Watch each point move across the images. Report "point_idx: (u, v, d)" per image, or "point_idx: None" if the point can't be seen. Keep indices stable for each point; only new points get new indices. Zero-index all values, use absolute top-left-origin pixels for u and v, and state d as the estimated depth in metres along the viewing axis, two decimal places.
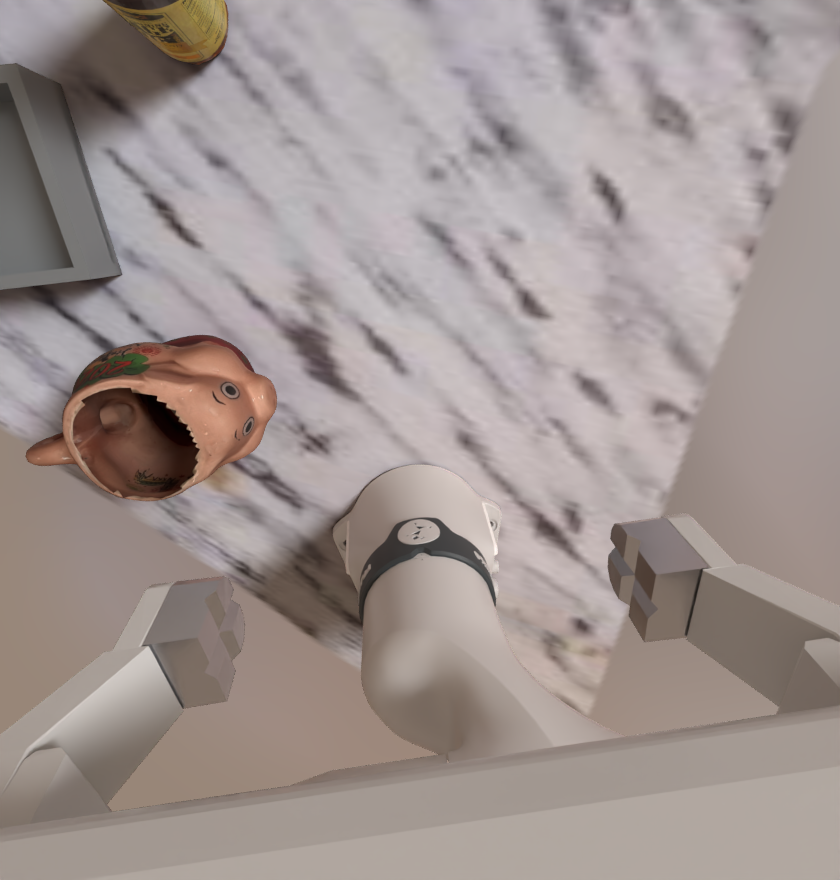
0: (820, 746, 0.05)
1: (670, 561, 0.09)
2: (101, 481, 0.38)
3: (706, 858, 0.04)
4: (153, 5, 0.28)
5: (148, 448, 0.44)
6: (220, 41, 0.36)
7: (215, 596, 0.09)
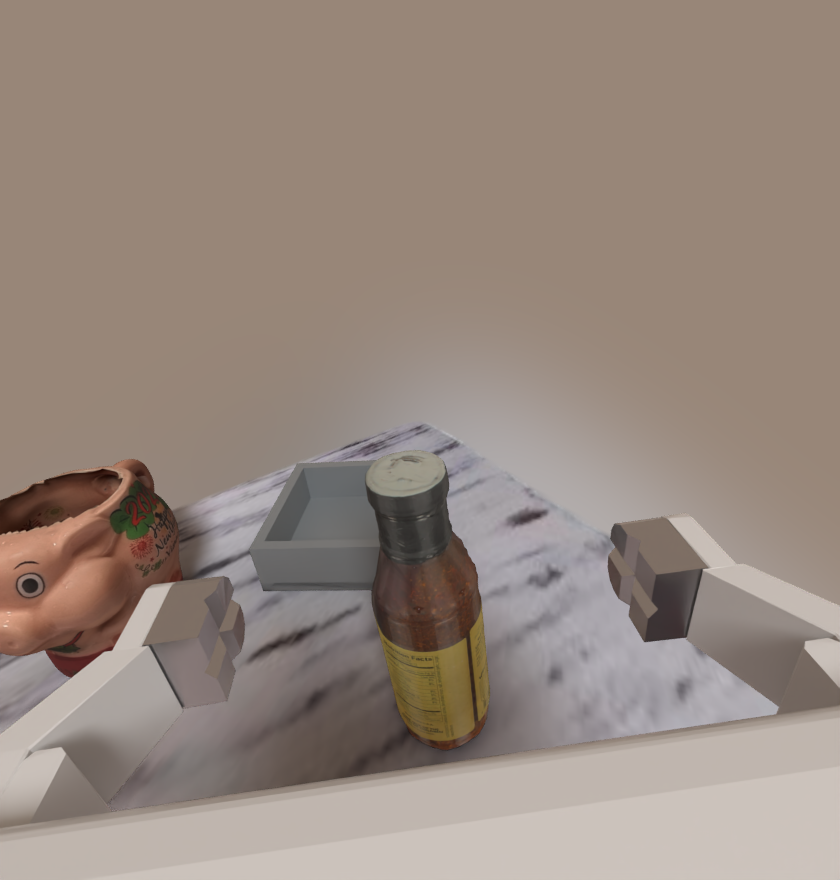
0: (820, 746, 0.05)
1: (670, 561, 0.09)
2: (69, 483, 0.42)
3: (706, 858, 0.04)
4: (372, 601, 0.28)
5: None
6: (408, 724, 0.31)
7: (215, 596, 0.09)
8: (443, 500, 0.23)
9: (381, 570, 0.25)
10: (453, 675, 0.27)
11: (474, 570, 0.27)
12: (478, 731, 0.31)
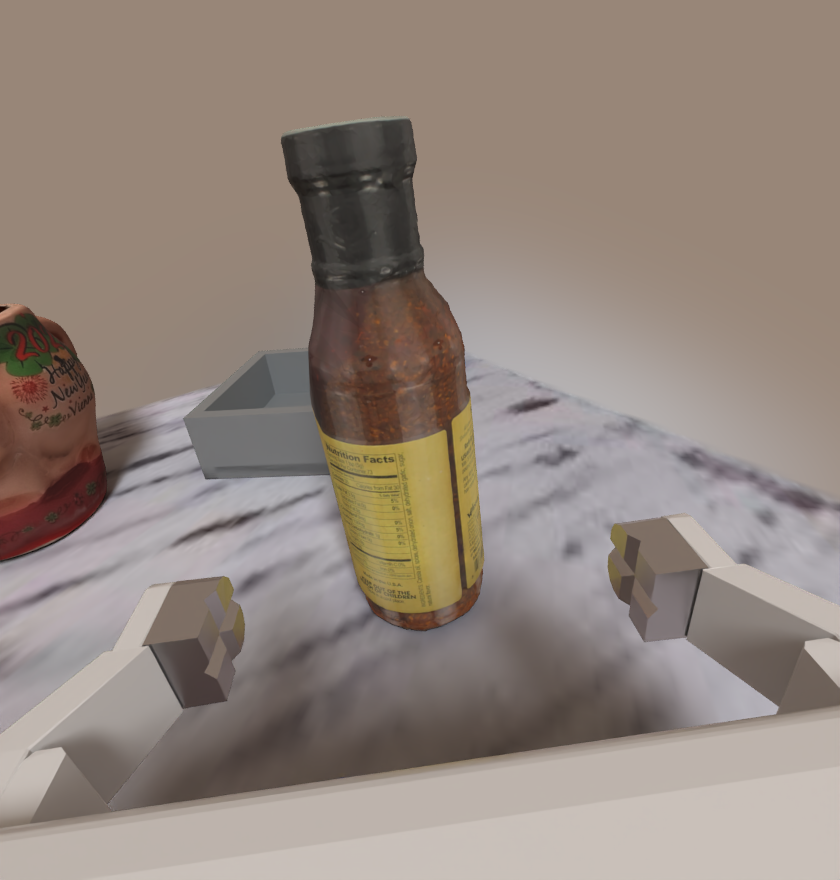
0: (820, 746, 0.05)
1: (670, 561, 0.09)
2: None
3: (706, 858, 0.04)
4: None
5: None
6: (369, 594, 0.22)
7: (215, 596, 0.09)
8: (405, 165, 0.15)
9: (315, 313, 0.17)
10: (428, 495, 0.18)
11: (459, 331, 0.18)
12: (467, 606, 0.22)
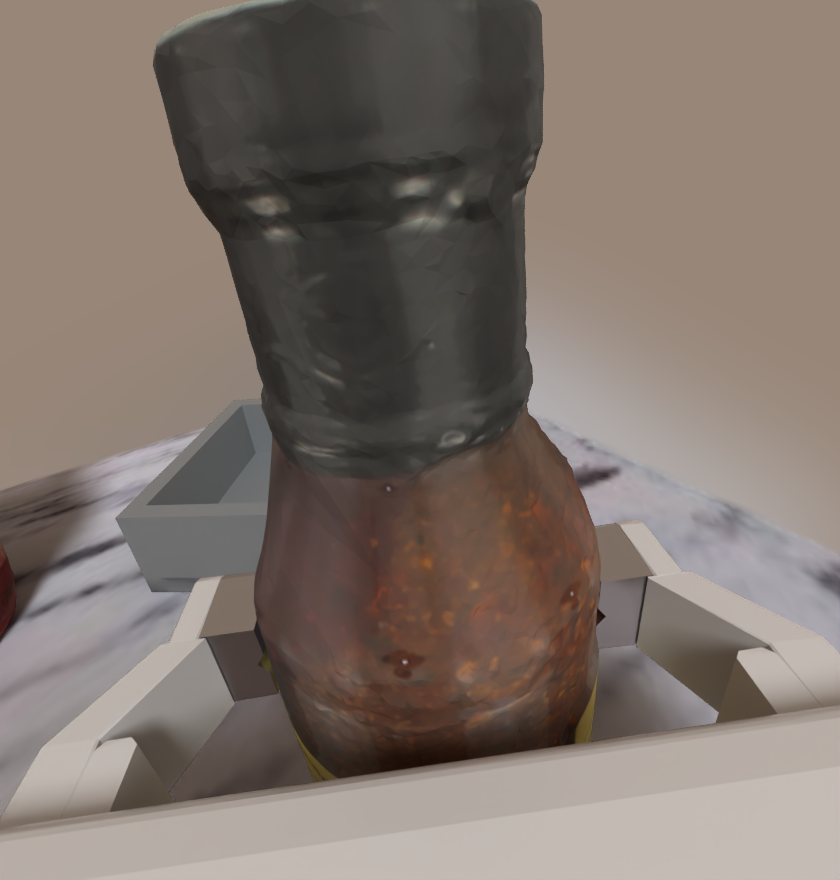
0: (820, 746, 0.05)
1: (617, 568, 0.09)
2: None
3: (706, 858, 0.04)
4: None
5: None
6: None
7: None
8: (527, 152, 0.05)
9: (269, 510, 0.07)
10: None
11: None
12: None
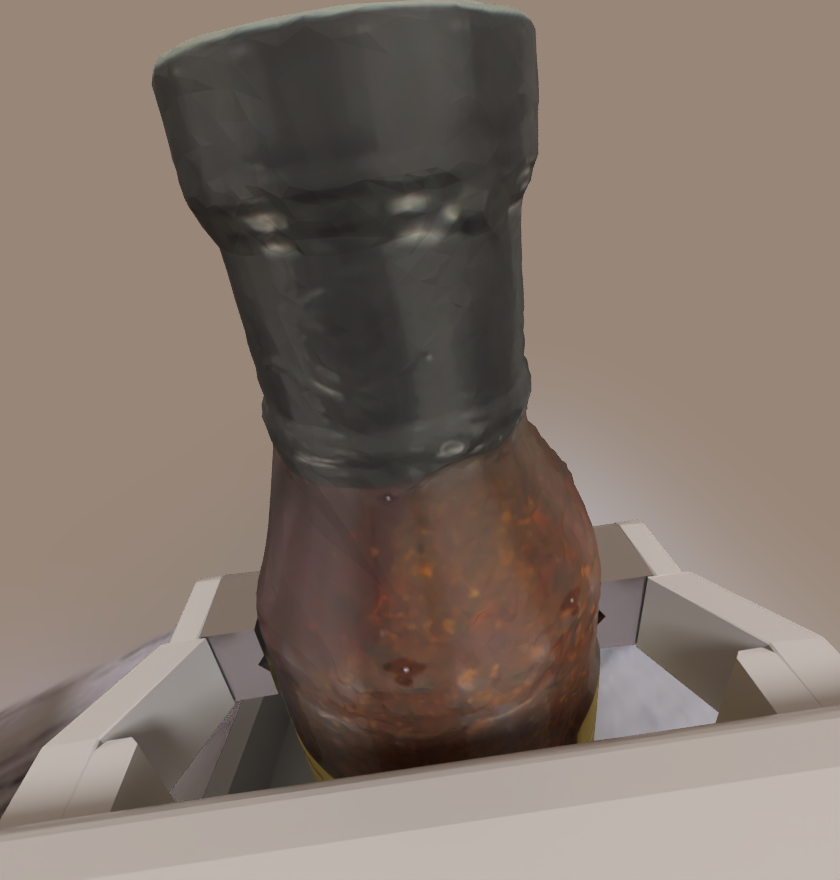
0: (820, 746, 0.05)
1: (617, 568, 0.09)
2: None
3: (706, 858, 0.04)
4: None
5: None
6: None
7: None
8: (522, 165, 0.05)
9: (271, 519, 0.07)
10: None
11: None
12: None
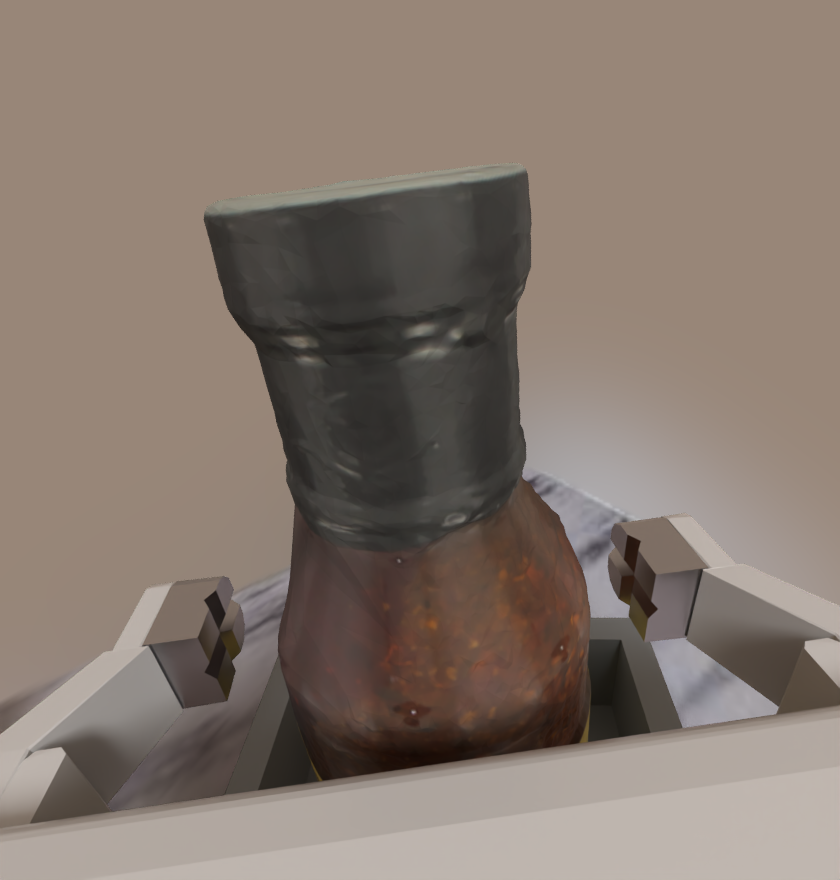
0: (820, 746, 0.05)
1: (670, 561, 0.09)
2: None
3: (706, 858, 0.04)
4: None
5: None
6: None
7: (215, 596, 0.09)
8: (516, 286, 0.06)
9: (292, 571, 0.08)
10: None
11: (583, 577, 0.09)
12: None
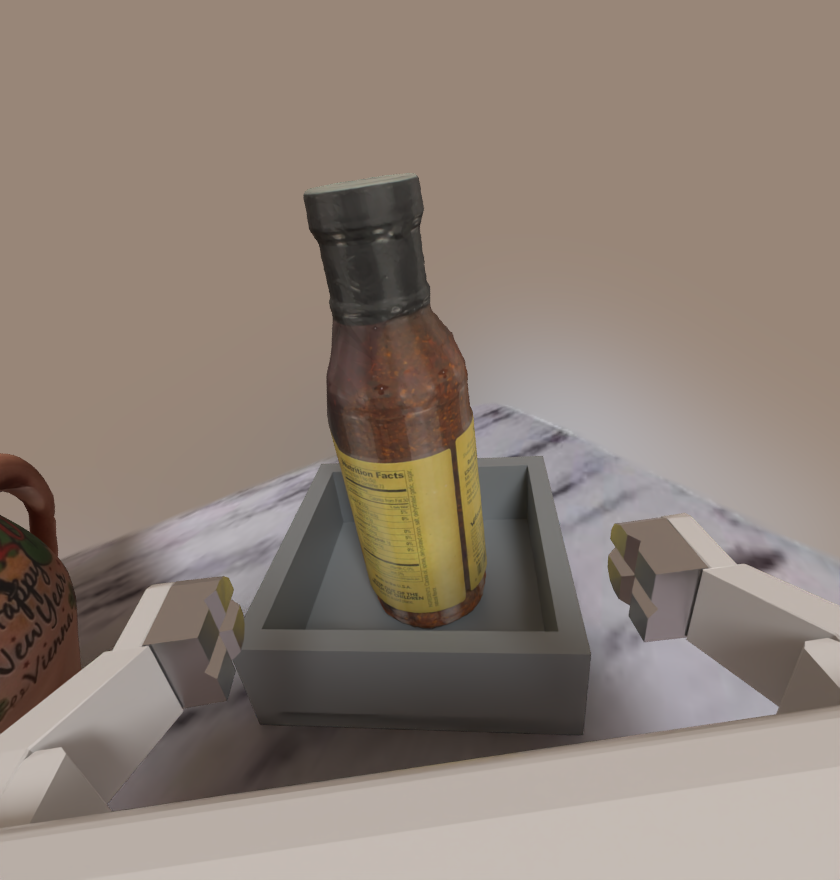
0: (820, 746, 0.05)
1: (670, 561, 0.09)
2: None
3: (706, 858, 0.04)
4: (327, 410, 0.21)
5: None
6: (380, 595, 0.24)
7: (215, 596, 0.09)
8: (413, 218, 0.16)
9: (332, 345, 0.18)
10: (434, 506, 0.20)
11: (462, 359, 0.20)
12: (471, 606, 0.24)
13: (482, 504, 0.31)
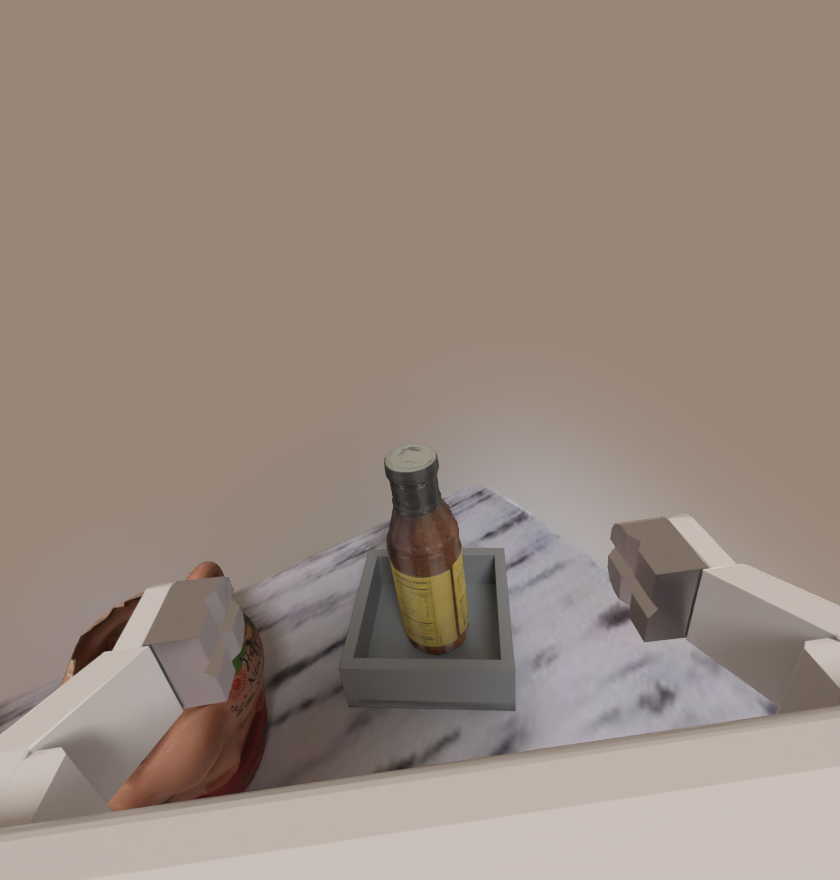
0: (820, 746, 0.05)
1: (670, 561, 0.09)
2: None
3: (706, 858, 0.04)
4: (387, 545, 0.41)
5: None
6: (410, 636, 0.44)
7: (215, 596, 0.09)
8: (434, 475, 0.36)
9: (393, 522, 0.38)
10: (441, 596, 0.40)
11: (456, 524, 0.40)
12: (460, 643, 0.44)
13: (468, 575, 0.51)
